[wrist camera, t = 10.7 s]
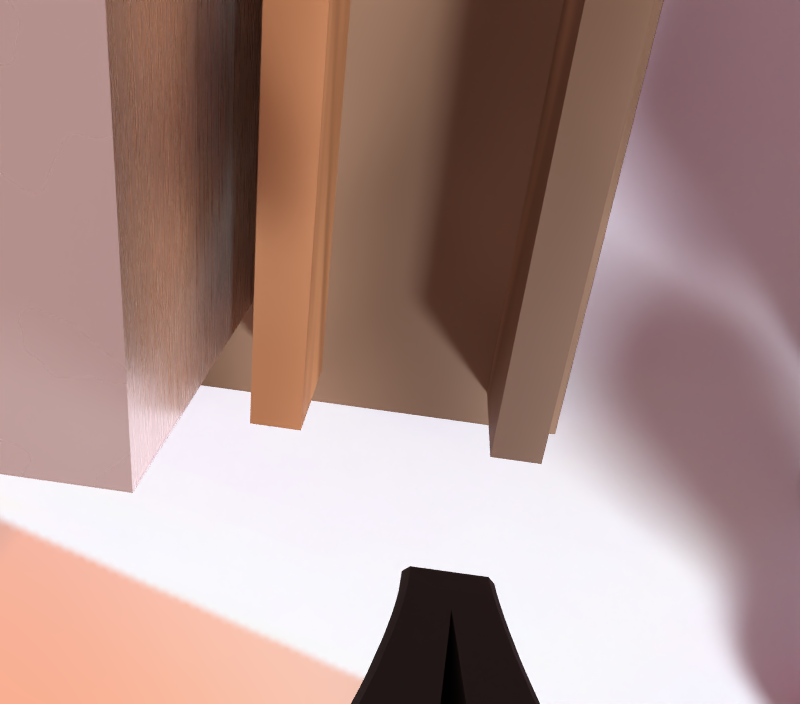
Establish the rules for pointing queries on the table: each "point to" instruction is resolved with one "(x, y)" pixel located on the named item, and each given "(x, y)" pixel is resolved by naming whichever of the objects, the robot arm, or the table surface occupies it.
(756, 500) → the table surface
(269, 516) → the table surface
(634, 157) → the table surface
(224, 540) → the table surface
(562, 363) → the rack
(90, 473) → the wooden block
